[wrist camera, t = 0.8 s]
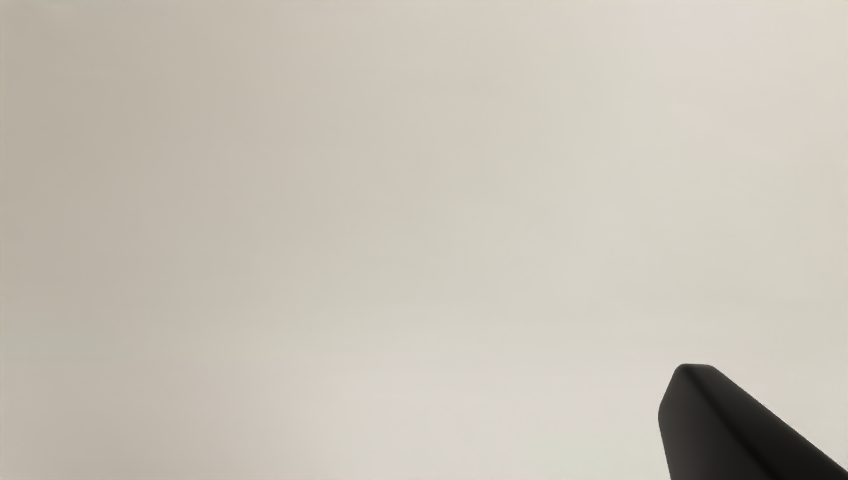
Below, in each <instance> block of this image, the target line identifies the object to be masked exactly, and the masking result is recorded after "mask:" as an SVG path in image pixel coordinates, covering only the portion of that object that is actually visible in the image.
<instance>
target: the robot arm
mask: <svg viewBox="0 0 848 480" xmlns="http://www.w3.org/2000/svg"><path fill="white" fill-rule="evenodd" d="M658 422H659V428H660V432H661V437H662V441H663V446H664V450H665V455H666V459H667V464H668V468H669V473H670V477H671V480H848V472H847V471H846V470H845V469H843V468H842V467H841V466H840V465H838V464H837V463H836V462H834V461H833V460H832V459H831V458H829V457H828V456H827V455H826V454H824V453H823V452H822V451H820V450H819V449H818V448H817V447H815V446H814V445H813V444H812V443H810V442H809V441H808V440H806V439H805V438H804V437H803V436H801V435H800V434H799V433H798V432H796V431H795V430H794V429H793V428H791V427H790V426H789V425H787V424H786V423H785V422H784V421H782V420H781V419H780V418H779V417H777V416H776V415H775V414H773V413H772V412H771V411H770V410H768V409H767V408H766V407H765V406H763V405H762V404H761V403H759V402H758V401H757V400H756V399H754V398H753V397H752V396H751V395H749V394H748V393H747V392H745V391H744V390H743V389H742V388H740V387H739V386H738V385H737V384H735V383H734V382H733V381H731V380H730V379H729V378H728V377H726V376H725V375H724V374H723V373H721V372H720V371H719V370H717V369H716V368H715V367H713V366H710V365H704V364H681V365H680V366H678V367H677V368H676V370H675V372H674V374H673V376H672V378H671V381H670V383H669V385H668V387H667V390H666V392H665V394H664V397H663V399H662V401H661V404H660V407H659V412H658Z"/></svg>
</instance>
